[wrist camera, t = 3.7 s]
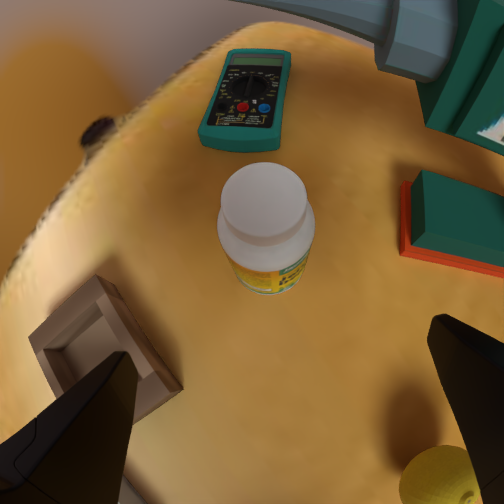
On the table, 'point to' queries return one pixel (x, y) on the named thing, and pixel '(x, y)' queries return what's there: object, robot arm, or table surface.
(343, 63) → the table surface
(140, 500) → the grey slot block
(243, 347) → the table surface
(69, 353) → the walnut socket block
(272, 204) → the supplement bottle
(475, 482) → the lemon
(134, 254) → the table surface
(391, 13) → the power tool
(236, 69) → the digital multimeter
